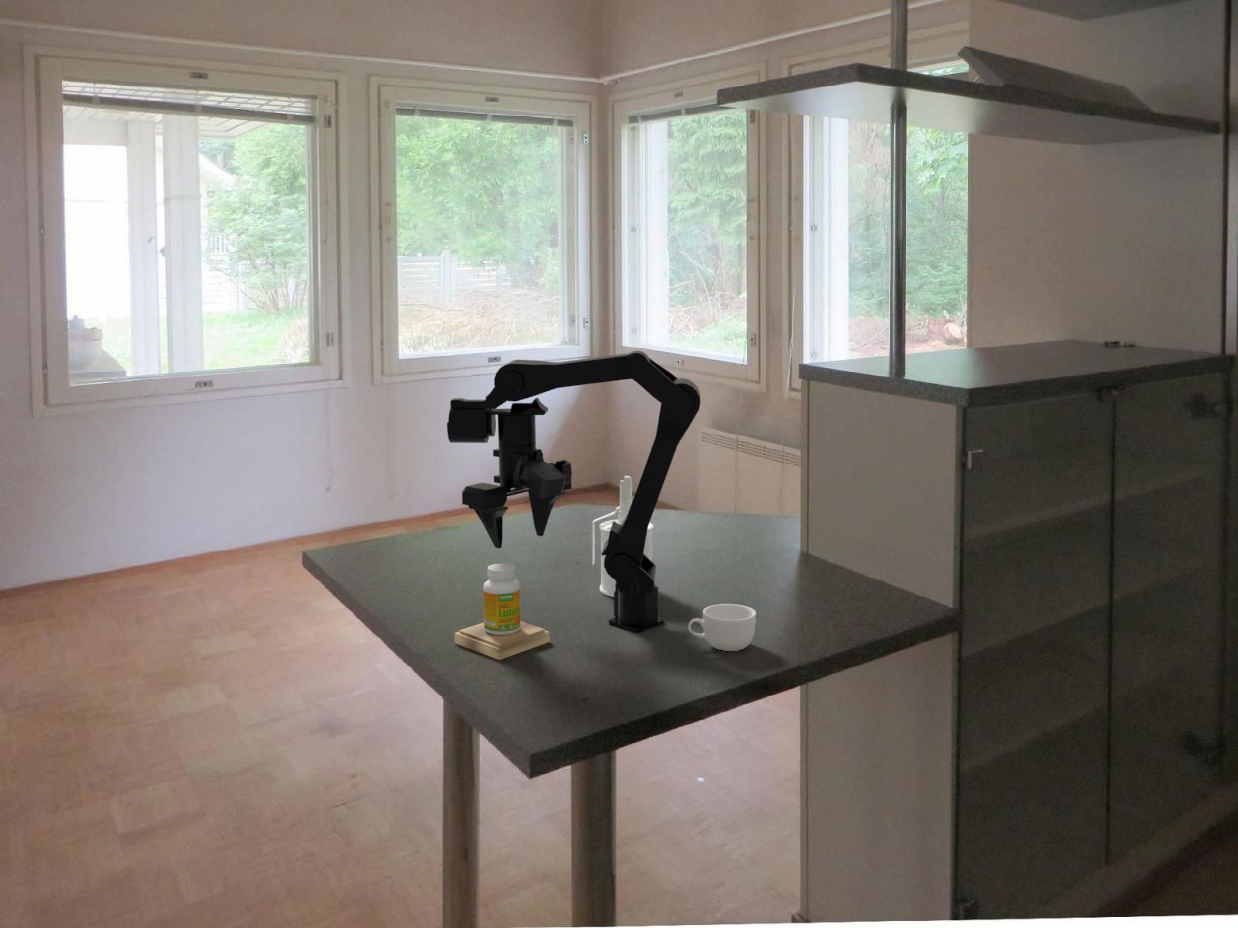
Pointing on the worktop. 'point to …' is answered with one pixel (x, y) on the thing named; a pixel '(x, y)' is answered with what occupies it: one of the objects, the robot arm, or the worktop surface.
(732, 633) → the teacup
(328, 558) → the worktop surface
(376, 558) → the worktop surface
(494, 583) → the supplement bottle
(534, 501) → the robot arm
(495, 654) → the beige square tray
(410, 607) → the worktop surface
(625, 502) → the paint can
